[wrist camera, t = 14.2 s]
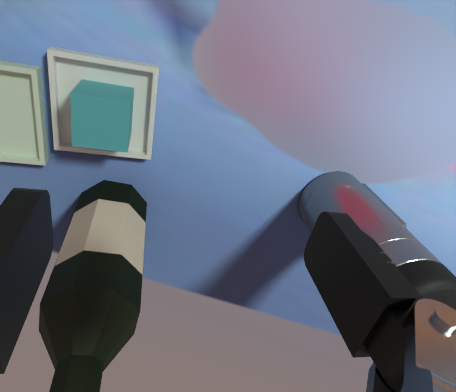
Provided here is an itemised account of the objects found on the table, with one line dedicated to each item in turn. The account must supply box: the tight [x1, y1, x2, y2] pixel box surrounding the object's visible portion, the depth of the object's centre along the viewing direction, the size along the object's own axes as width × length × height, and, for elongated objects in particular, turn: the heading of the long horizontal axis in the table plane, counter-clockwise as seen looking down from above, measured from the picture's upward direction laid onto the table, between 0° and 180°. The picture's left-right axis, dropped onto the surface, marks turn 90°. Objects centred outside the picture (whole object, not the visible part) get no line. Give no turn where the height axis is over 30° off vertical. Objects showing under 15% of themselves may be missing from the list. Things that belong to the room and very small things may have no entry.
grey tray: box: [47, 47, 159, 160], centre depth 34 cm, size 10×10×1 cm
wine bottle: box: [39, 180, 147, 392], centre depth 29 cm, size 8×8×30 cm
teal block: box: [70, 79, 134, 153], centre depth 32 cm, size 5×5×5 cm
